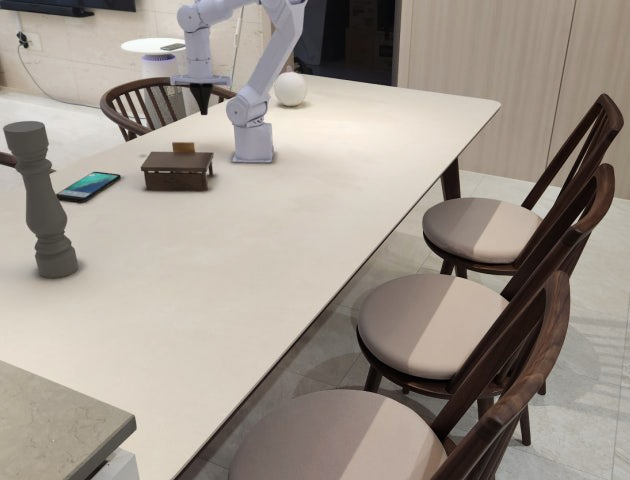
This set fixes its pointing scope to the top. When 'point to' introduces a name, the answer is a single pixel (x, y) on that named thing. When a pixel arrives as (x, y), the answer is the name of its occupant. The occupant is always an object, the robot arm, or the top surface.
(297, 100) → the ornament
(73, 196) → the smartphone
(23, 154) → the candle holder
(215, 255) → the top surface
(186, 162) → the desk
